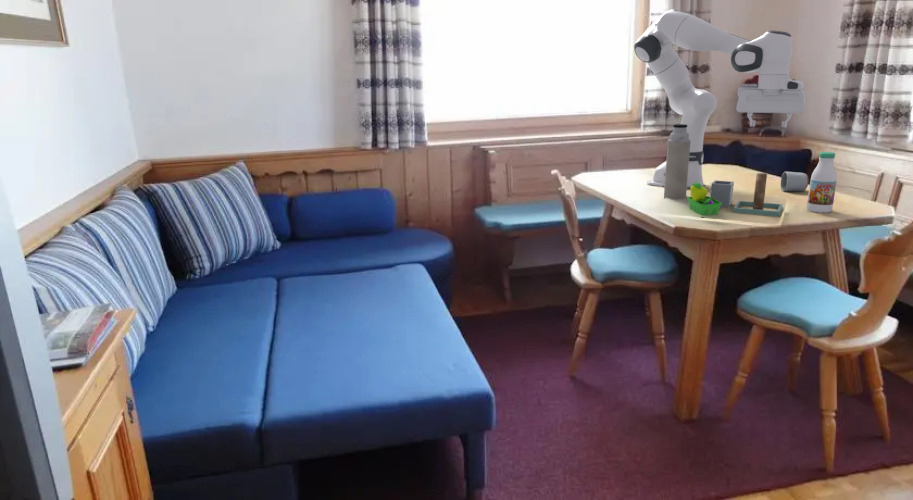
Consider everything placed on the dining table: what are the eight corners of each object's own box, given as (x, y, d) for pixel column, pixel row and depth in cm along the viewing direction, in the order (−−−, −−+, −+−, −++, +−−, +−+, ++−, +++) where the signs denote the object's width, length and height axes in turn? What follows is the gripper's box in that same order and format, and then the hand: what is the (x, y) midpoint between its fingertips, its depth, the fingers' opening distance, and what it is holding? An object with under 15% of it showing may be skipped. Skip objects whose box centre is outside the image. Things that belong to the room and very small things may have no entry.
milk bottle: (801, 208, 220) (809, 151, 214) (822, 207, 221) (830, 150, 215) (815, 213, 213) (823, 154, 207) (837, 212, 213) (846, 153, 207)
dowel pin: (751, 212, 215) (756, 174, 211) (753, 210, 218) (757, 172, 214) (762, 212, 214) (766, 175, 210) (763, 210, 216) (767, 173, 212)
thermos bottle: (663, 196, 244) (669, 123, 236) (685, 197, 242) (691, 123, 234) (663, 200, 237) (668, 125, 229) (685, 201, 235) (692, 125, 226)
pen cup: (709, 208, 224) (711, 183, 221) (712, 204, 229) (714, 180, 226) (728, 210, 221) (731, 185, 218) (731, 206, 226) (733, 181, 223)
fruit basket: (721, 217, 212) (725, 184, 208) (696, 219, 211) (699, 186, 208) (706, 209, 222) (709, 178, 219) (682, 211, 222) (684, 179, 218)
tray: (732, 215, 214) (733, 207, 214) (738, 207, 224) (738, 200, 223) (778, 219, 207) (779, 211, 207) (781, 211, 217) (782, 204, 216)
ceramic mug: (808, 193, 243) (810, 173, 240) (785, 193, 244) (788, 173, 242) (798, 187, 253) (800, 168, 250) (776, 187, 254) (778, 168, 252)
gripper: (736, 84, 206) (732, 126, 210) (807, 84, 196) (801, 129, 200) (739, 83, 211) (735, 124, 215) (808, 82, 201) (803, 126, 205)
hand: (767, 126), depth 208 cm, fingers open, 8 cm apart
